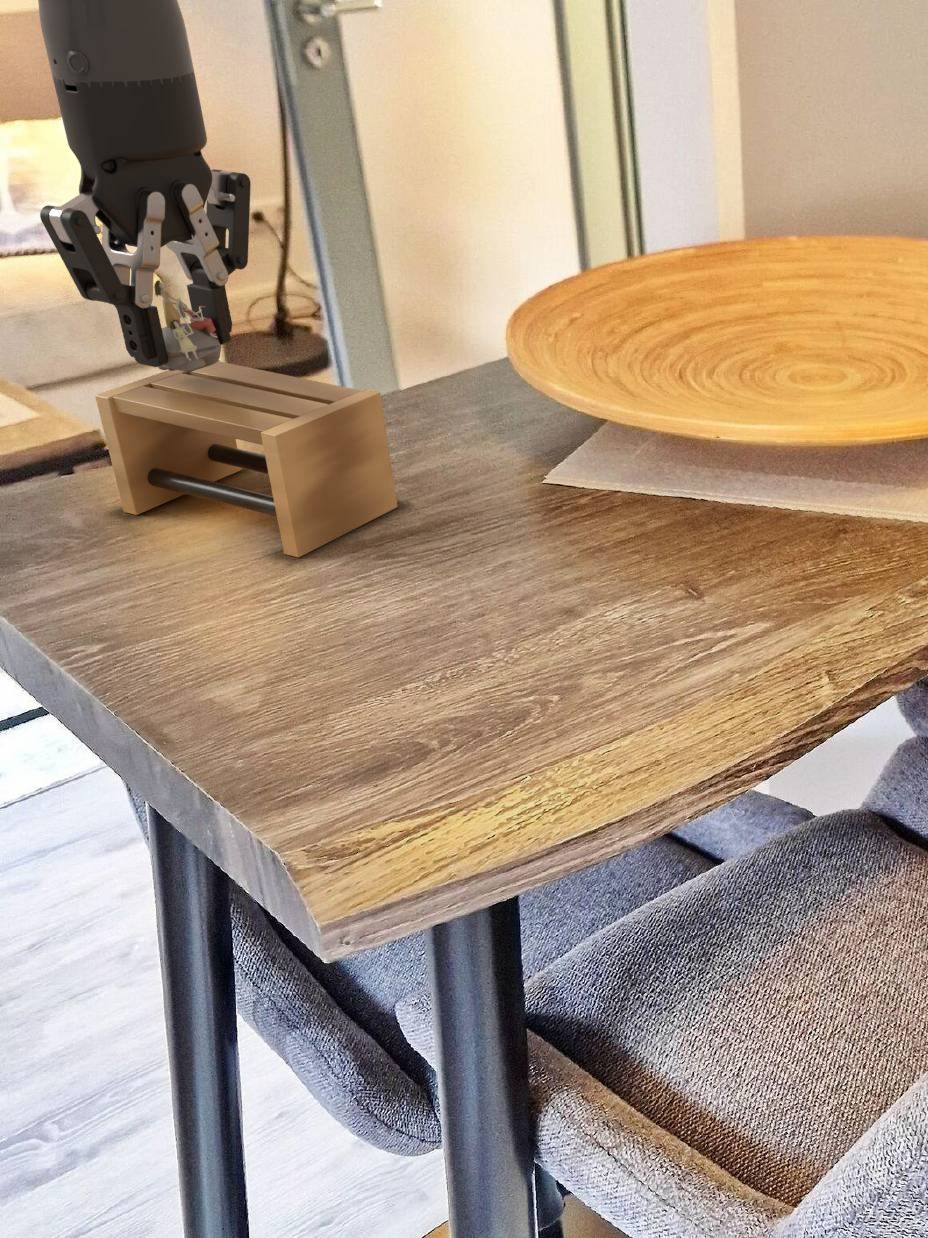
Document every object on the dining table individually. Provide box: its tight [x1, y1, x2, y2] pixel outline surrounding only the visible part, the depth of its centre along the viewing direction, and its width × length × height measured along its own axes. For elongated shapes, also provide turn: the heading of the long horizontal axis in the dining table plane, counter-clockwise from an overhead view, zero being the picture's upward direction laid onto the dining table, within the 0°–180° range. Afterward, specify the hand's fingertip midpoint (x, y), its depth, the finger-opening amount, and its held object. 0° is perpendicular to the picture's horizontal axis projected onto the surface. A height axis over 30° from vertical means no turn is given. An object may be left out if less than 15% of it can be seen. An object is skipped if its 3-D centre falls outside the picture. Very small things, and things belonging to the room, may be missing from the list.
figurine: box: [154, 279, 222, 372], centre depth 94 cm, size 5×4×6 cm
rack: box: [94, 359, 398, 558], centre depth 97 cm, size 9×15×8 cm, turn 65°
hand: (183, 352), depth 95 cm, fingers closed on figurine, 4 cm apart
